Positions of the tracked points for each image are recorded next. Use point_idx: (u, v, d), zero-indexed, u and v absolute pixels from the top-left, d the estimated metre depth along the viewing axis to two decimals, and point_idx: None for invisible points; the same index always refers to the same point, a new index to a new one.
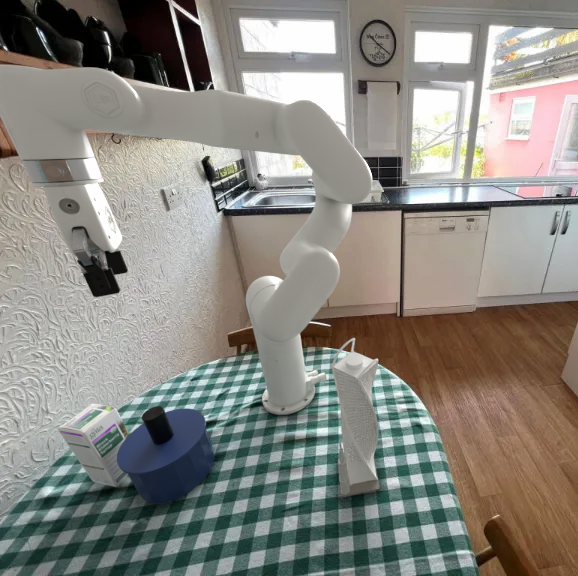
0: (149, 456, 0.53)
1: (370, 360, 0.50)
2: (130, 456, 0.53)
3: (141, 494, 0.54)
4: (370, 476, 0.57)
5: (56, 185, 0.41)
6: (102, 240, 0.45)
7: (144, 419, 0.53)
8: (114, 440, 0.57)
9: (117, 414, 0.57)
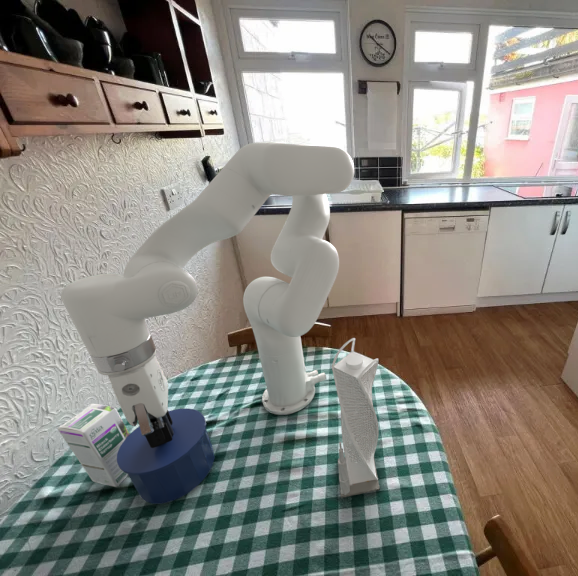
0: (149, 456, 0.53)
1: (370, 360, 0.50)
2: (130, 456, 0.53)
3: (141, 494, 0.54)
4: (370, 476, 0.57)
5: (120, 373, 0.46)
6: (157, 410, 0.49)
7: None
8: (114, 440, 0.57)
9: (117, 414, 0.57)
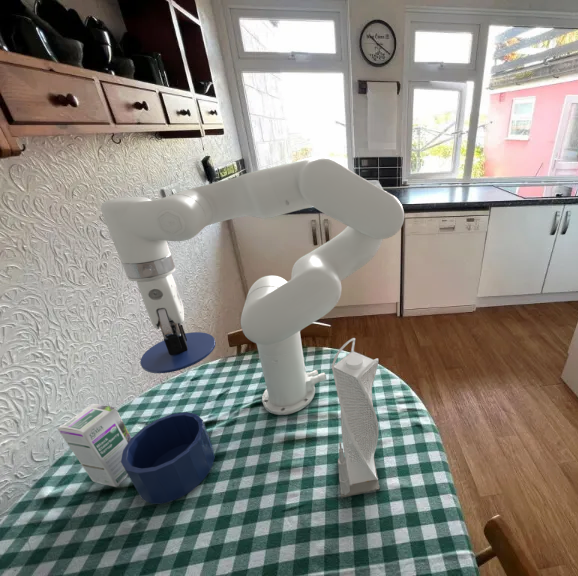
0: (168, 361, 0.62)
1: (370, 360, 0.50)
2: (151, 361, 0.63)
3: (141, 494, 0.54)
4: (370, 476, 0.57)
5: (146, 279, 0.55)
6: (176, 316, 0.59)
7: None
8: (114, 440, 0.57)
9: (117, 414, 0.57)
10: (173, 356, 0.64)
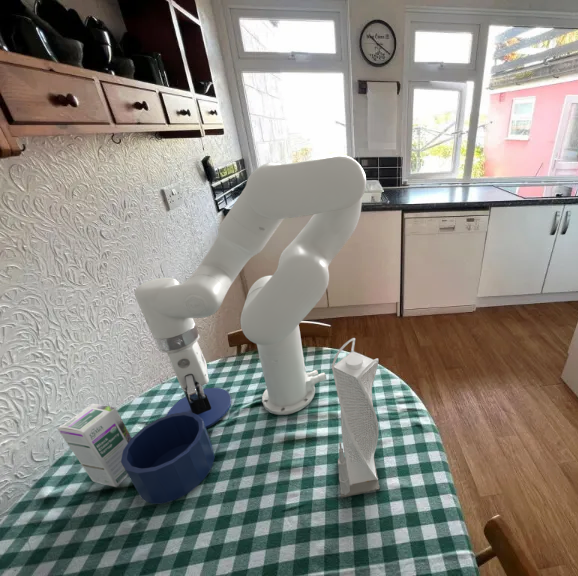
0: None
1: (370, 360, 0.50)
2: None
3: (141, 494, 0.54)
4: (370, 476, 0.57)
5: (175, 351, 0.62)
6: (202, 379, 0.66)
7: (186, 393, 0.69)
8: (114, 440, 0.57)
9: (117, 414, 0.57)
10: None
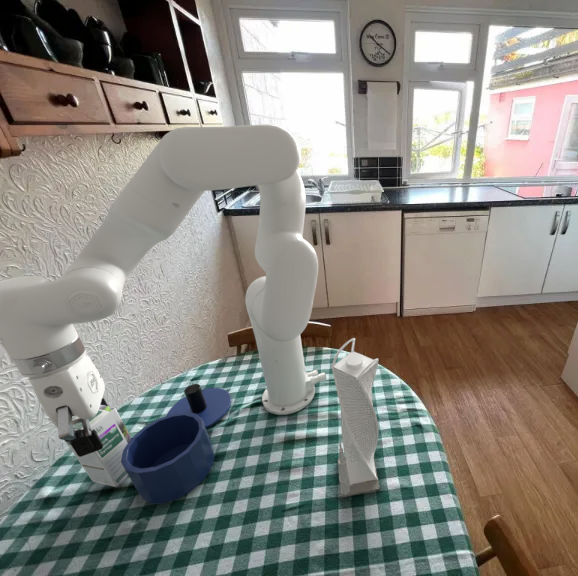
0: None
1: (370, 360, 0.50)
2: None
3: (141, 494, 0.54)
4: (370, 476, 0.57)
5: (41, 375, 0.46)
6: (84, 412, 0.49)
7: (186, 393, 0.69)
8: (114, 440, 0.56)
9: (117, 414, 0.57)
10: None
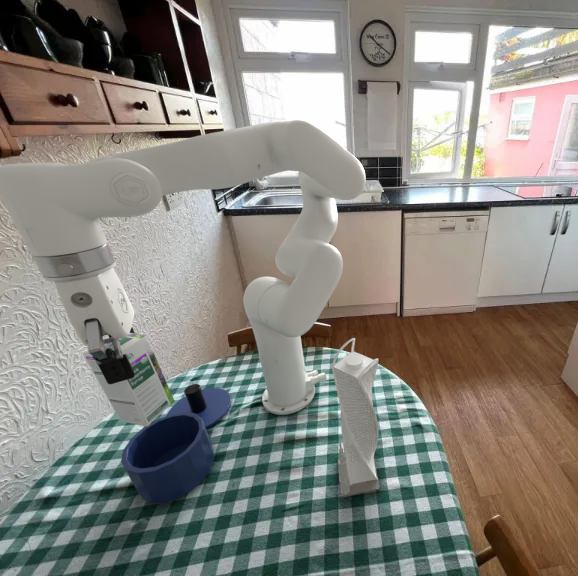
0: None
1: (370, 360, 0.50)
2: None
3: (141, 494, 0.54)
4: (370, 476, 0.57)
5: (68, 279, 0.40)
6: (115, 329, 0.43)
7: (186, 393, 0.69)
8: (145, 372, 0.50)
9: (148, 344, 0.50)
10: None
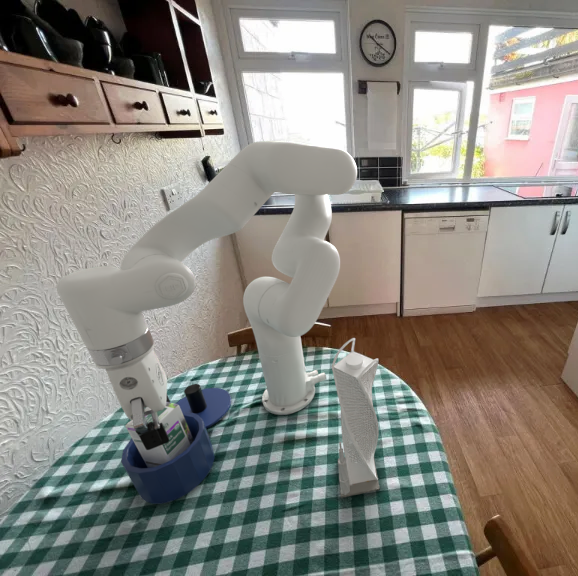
0: None
1: (370, 360, 0.50)
2: None
3: (141, 494, 0.54)
4: (370, 476, 0.57)
5: (117, 366, 0.46)
6: (155, 404, 0.49)
7: (186, 393, 0.69)
8: (178, 437, 0.56)
9: (180, 411, 0.57)
10: None
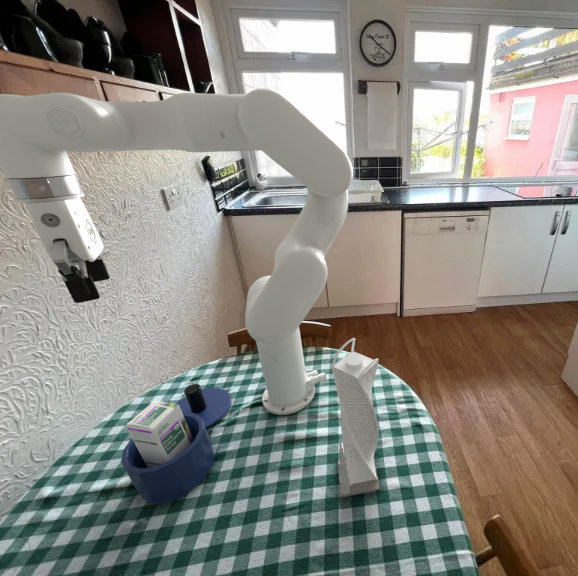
0: None
1: (370, 360, 0.50)
2: None
3: (141, 494, 0.54)
4: (370, 476, 0.57)
5: (38, 201, 0.45)
6: (82, 251, 0.49)
7: (186, 393, 0.69)
8: (178, 437, 0.56)
9: (180, 411, 0.57)
10: None
